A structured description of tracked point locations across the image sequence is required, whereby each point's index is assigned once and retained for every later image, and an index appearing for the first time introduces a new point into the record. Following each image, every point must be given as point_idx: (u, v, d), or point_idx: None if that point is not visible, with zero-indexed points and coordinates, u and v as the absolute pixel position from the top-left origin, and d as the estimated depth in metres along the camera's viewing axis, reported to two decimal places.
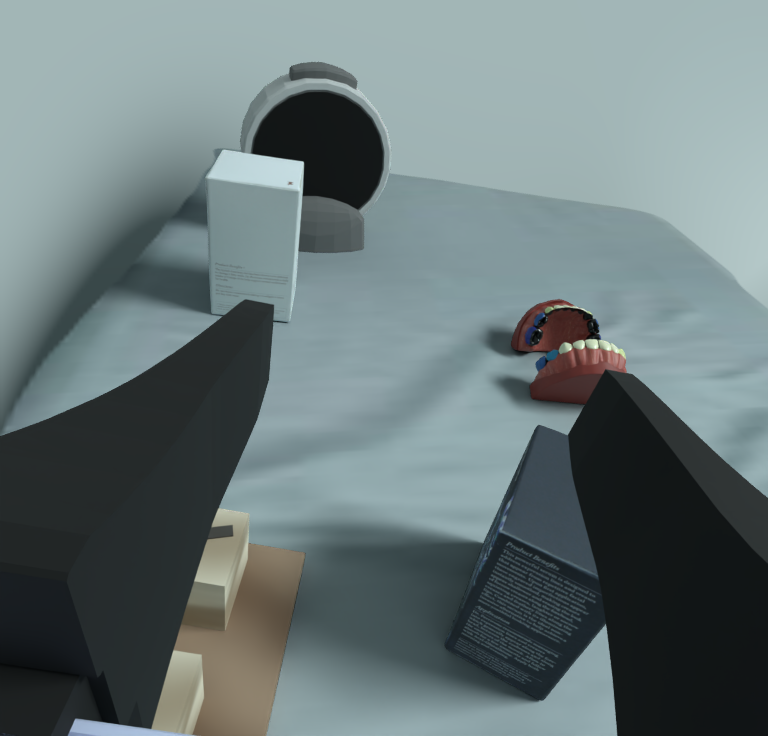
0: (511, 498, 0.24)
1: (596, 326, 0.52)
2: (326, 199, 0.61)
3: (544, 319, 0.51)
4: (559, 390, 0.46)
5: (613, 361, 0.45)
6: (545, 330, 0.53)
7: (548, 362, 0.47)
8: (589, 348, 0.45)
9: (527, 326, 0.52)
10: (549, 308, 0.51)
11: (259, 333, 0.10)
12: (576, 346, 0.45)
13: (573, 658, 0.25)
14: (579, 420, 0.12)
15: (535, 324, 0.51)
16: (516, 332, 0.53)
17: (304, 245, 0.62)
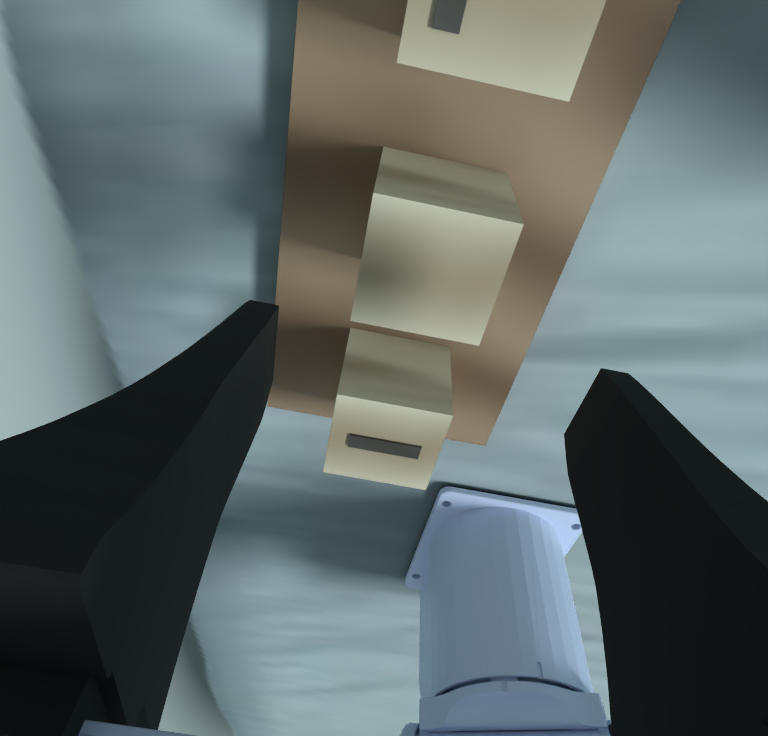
0: None
1: None
2: None
3: None
4: None
5: None
6: None
7: None
8: None
9: None
10: None
11: (264, 334, 0.10)
12: None
13: None
14: (575, 419, 0.12)
15: None
16: None
17: None
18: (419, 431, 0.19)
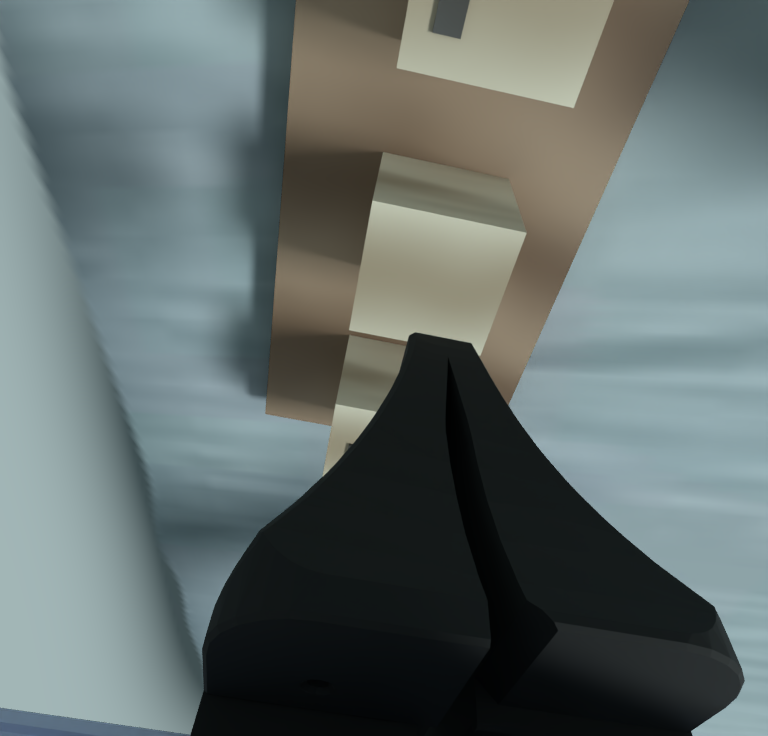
0: None
1: None
2: None
3: None
4: None
5: None
6: None
7: None
8: None
9: None
10: None
11: None
12: None
13: None
14: None
15: None
16: None
17: None
18: None
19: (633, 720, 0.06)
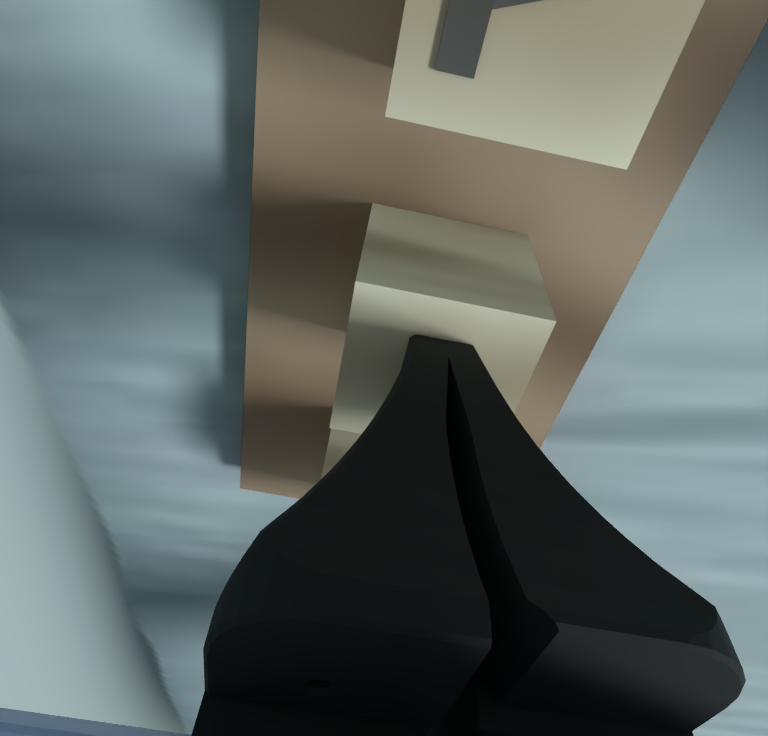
0: None
1: None
2: None
3: None
4: None
5: None
6: None
7: None
8: None
9: None
10: None
11: None
12: None
13: None
14: None
15: None
16: None
17: None
18: None
19: (634, 720, 0.06)
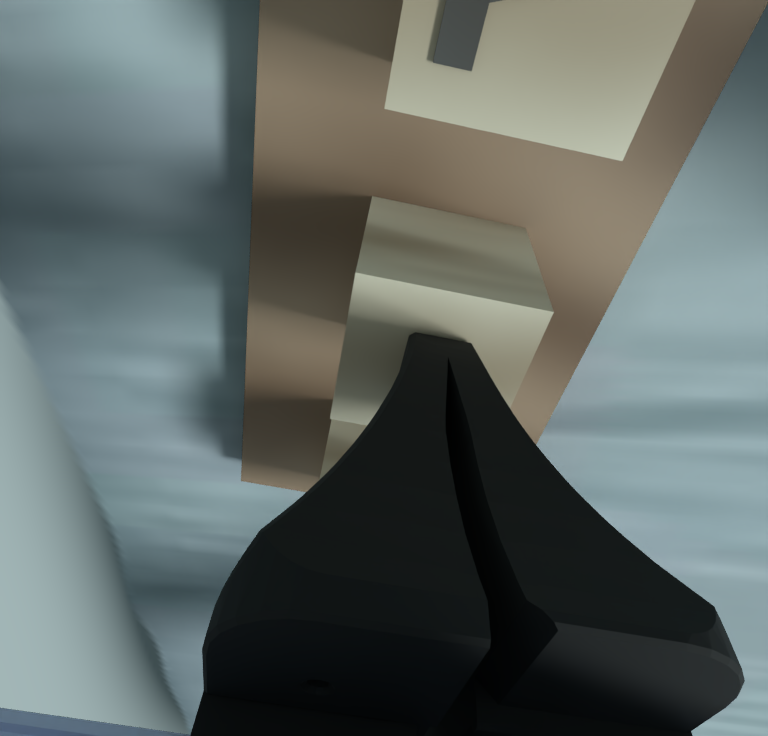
0: None
1: None
2: None
3: None
4: None
5: None
6: None
7: None
8: None
9: None
10: None
11: None
12: None
13: None
14: None
15: None
16: None
17: None
18: None
19: (633, 720, 0.06)
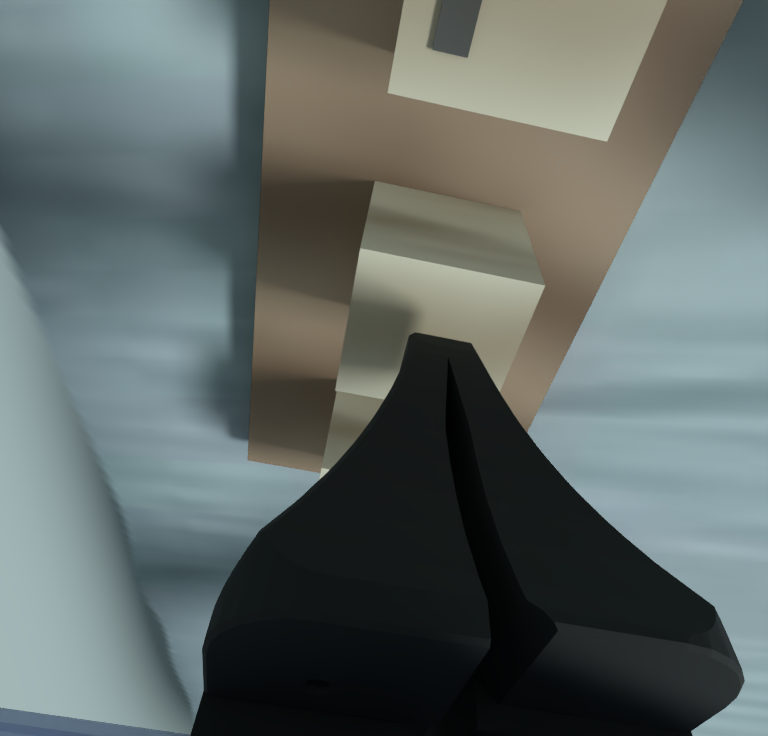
0: None
1: None
2: None
3: None
4: None
5: None
6: None
7: None
8: None
9: None
10: None
11: None
12: None
13: None
14: None
15: None
16: None
17: None
18: None
19: (633, 720, 0.06)
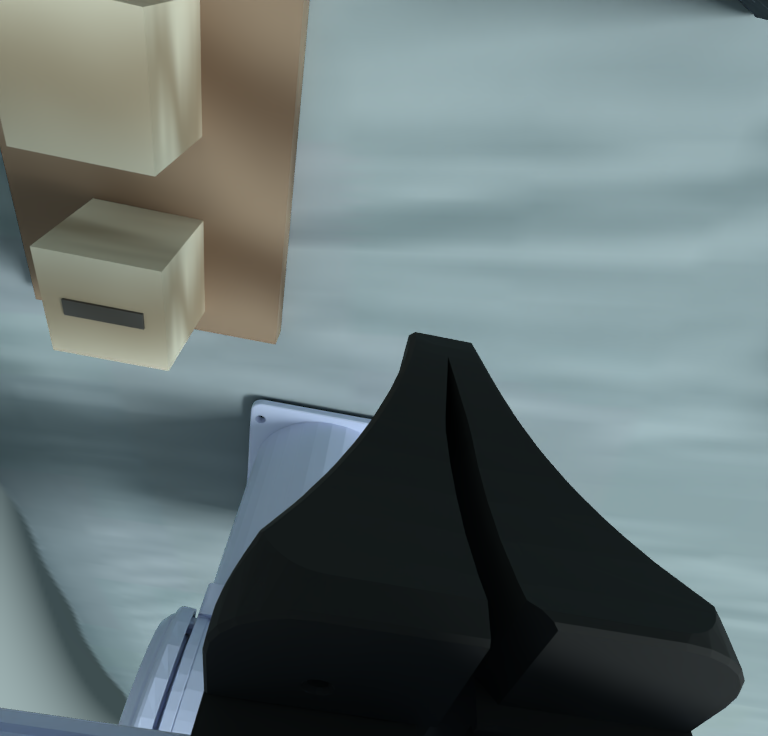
0: None
1: None
2: None
3: None
4: None
5: None
6: None
7: None
8: None
9: None
10: None
11: None
12: None
13: None
14: None
15: None
16: None
17: None
18: (133, 293, 0.18)
19: (633, 720, 0.06)
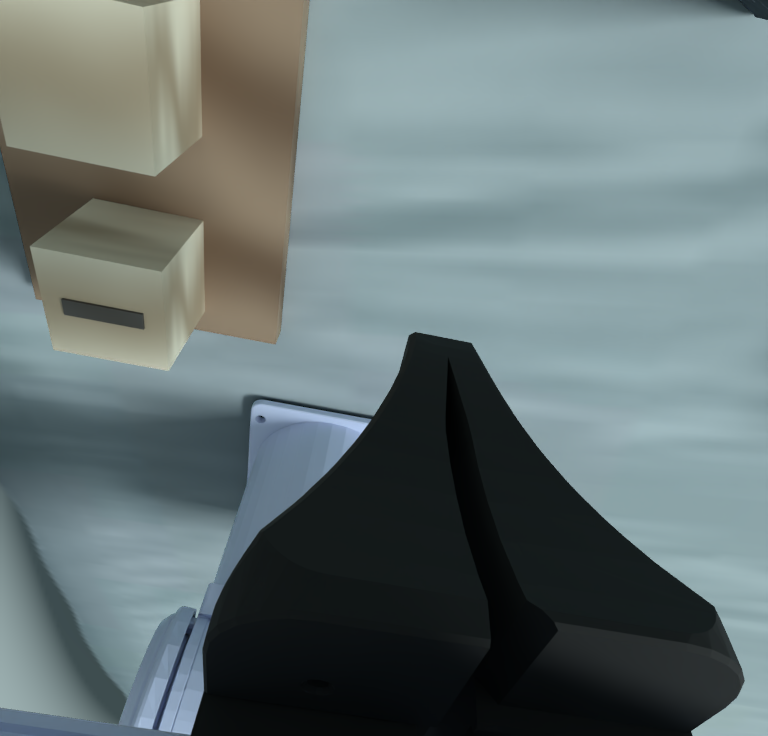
0: None
1: None
2: None
3: None
4: None
5: None
6: None
7: None
8: None
9: None
10: None
11: None
12: None
13: None
14: None
15: None
16: None
17: None
18: (133, 293, 0.18)
19: (633, 720, 0.06)
